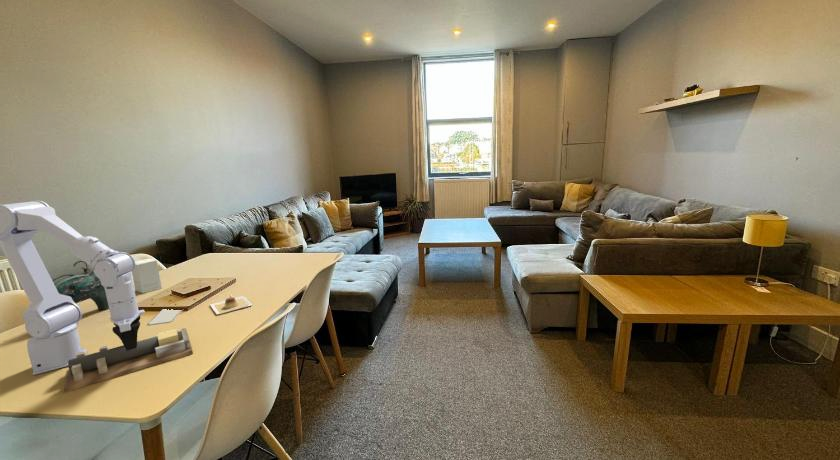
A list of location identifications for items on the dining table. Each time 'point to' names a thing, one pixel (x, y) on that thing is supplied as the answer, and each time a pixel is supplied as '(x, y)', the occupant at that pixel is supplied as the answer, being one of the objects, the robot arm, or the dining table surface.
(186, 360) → the dining table surface
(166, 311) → the smartphone
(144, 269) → the supplement box
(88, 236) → the robot arm
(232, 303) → the dessert
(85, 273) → the dark green irregular piece
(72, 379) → the board
